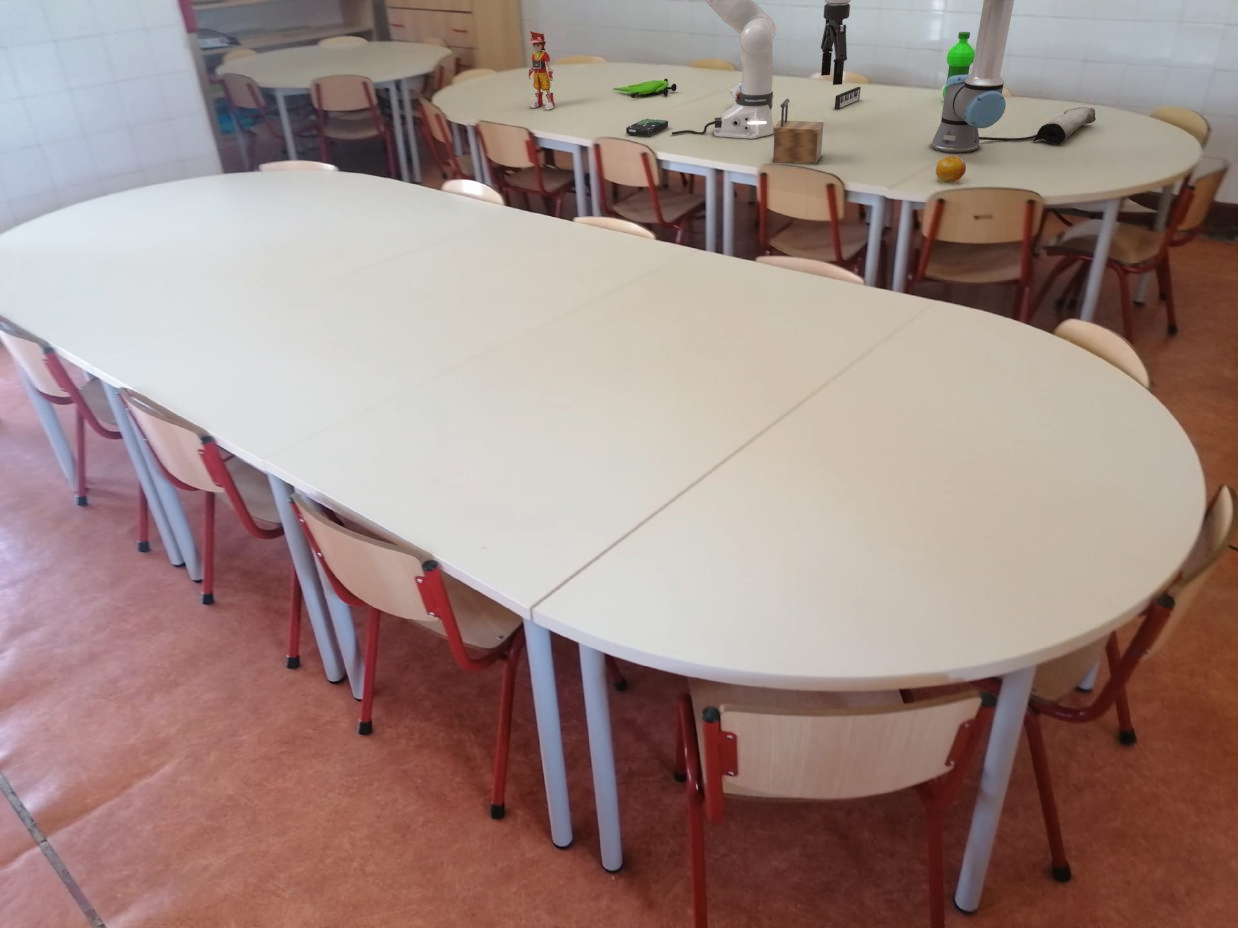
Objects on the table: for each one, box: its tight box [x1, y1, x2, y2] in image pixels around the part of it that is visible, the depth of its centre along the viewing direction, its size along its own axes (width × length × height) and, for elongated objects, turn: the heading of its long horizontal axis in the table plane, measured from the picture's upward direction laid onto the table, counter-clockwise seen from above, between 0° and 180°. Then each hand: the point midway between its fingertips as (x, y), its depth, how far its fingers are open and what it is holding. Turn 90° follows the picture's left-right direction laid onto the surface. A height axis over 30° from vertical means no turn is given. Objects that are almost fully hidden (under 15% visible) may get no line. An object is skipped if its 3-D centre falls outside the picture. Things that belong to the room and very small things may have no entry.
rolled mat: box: [1032, 106, 1097, 146], centre depth 310 cm, size 30×9×10 cm
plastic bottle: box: [942, 31, 975, 98], centre depth 348 cm, size 10×10×25 cm
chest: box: [772, 126, 824, 165], centre depth 301 cm, size 14×10×10 cm, turn 69°
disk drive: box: [625, 118, 669, 137], centre depth 342 cm, size 10×3×15 cm
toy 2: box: [612, 78, 677, 99], centre depth 396 cm, size 28×5×30 cm
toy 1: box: [527, 31, 556, 111], centre depth 374 cm, size 12×9×30 cm
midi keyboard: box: [834, 86, 861, 110], centre depth 359 cm, size 18×1×5 cm, turn 138°
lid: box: [773, 98, 825, 133], centre depth 296 cm, size 15×10×9 cm, turn 69°
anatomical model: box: [729, 81, 742, 102], centre depth 363 cm, size 15×10×10 cm
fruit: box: [935, 155, 967, 183], centre depth 275 cm, size 8×8×8 cm
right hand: (831, 80), depth 278 cm, fingers open, 13 cm apart
